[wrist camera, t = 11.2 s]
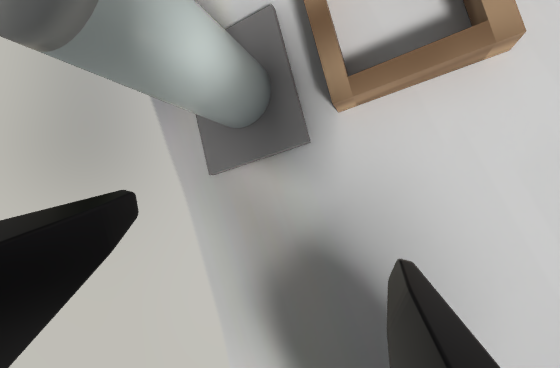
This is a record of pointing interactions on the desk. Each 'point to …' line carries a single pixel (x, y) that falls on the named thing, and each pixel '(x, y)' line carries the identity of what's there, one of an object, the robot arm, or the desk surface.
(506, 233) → the desk surface
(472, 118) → the desk surface
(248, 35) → the rubber mat
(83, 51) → the pale grey cylinder
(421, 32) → the desk surface
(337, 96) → the walnut collar
